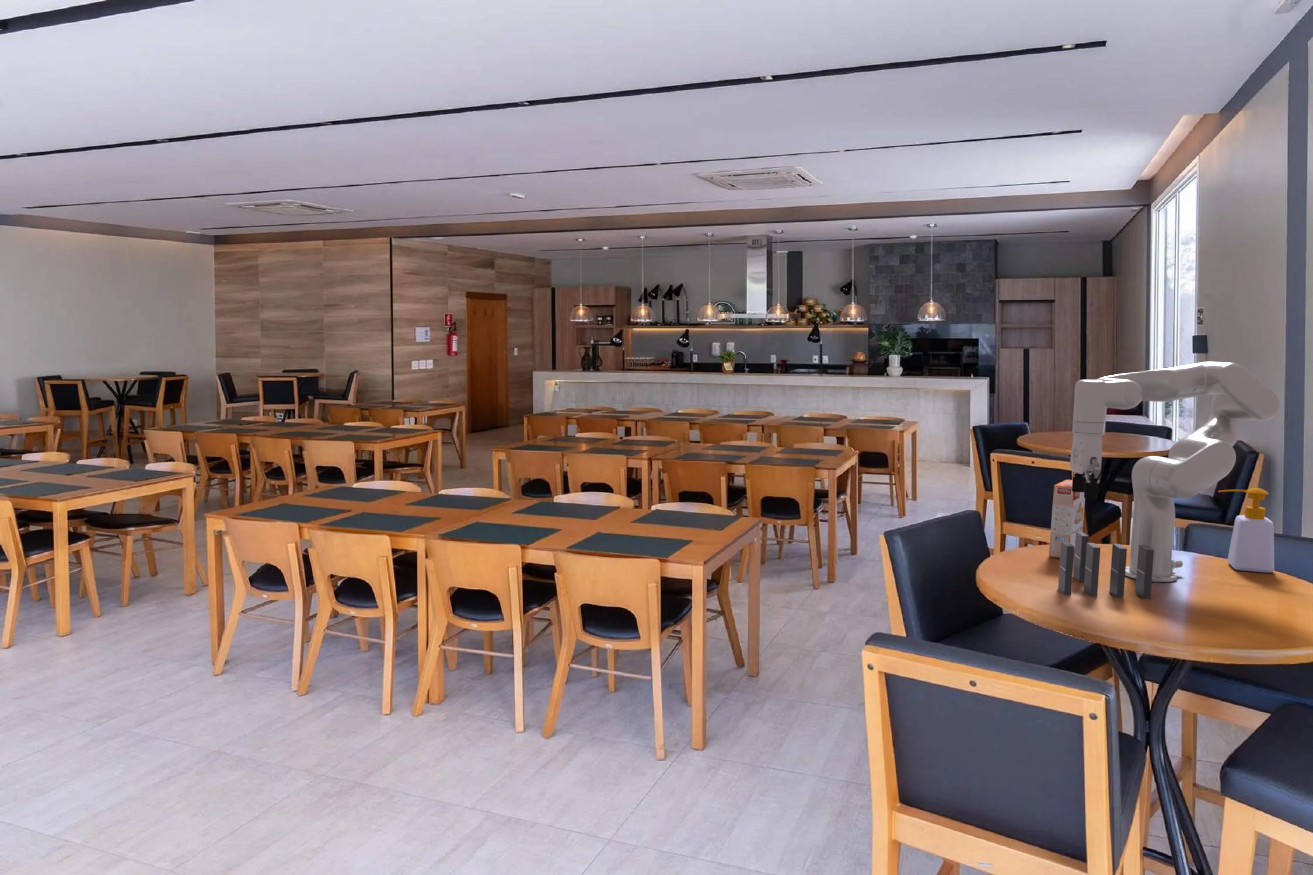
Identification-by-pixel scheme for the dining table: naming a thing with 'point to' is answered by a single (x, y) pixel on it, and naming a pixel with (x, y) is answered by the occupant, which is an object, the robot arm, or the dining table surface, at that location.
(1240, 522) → the soap bottle
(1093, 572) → the domino
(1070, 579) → the domino
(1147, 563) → the domino
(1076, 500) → the cracker box
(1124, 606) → the dining table surface
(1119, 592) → the domino
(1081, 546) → the domino
